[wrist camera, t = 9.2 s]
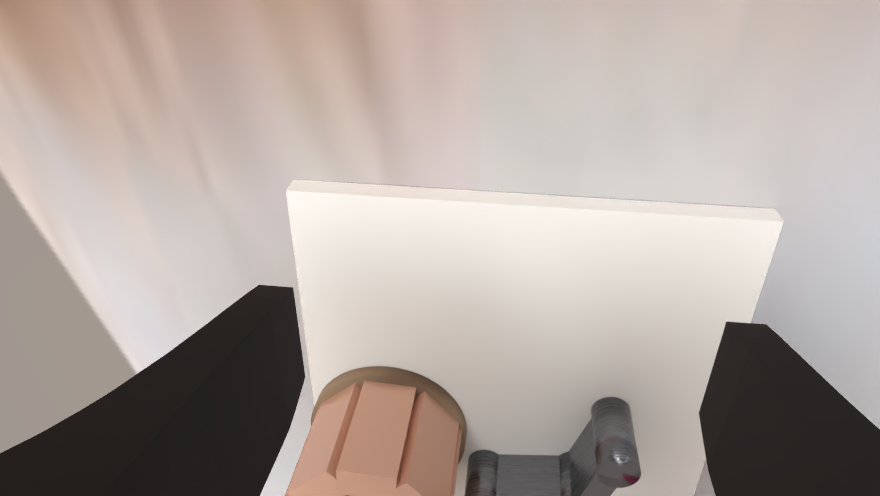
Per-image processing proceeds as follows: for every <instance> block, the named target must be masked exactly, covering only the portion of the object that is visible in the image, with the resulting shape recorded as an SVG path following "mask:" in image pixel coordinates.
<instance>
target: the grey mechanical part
mask: <svg viewBox="0 0 880 496" xmlns="http://www.w3.org/2000/svg"><path fill="white" fill-rule="evenodd" d="M640 477H641V469H640V463H639V457H638V451H637V446H636V440H635V434H634V428H633V422H632V416H631V410H630V407H629V405H628V403H627V402H625V401H624V400H622V399H620V398H617V397H605V398H602V399H599V400H598V401H596V402H595V403H594V404H593V405H592V407H591V420H590V421H589V422H588V424H587V425H586V427H585V428H584V430H583V431H582V433H581V434H580V436H579V437H578V439H577V440H576V441H575V443H574V444H573V446H572V447H571V449H570V450H569V452H565V453H562V454H561V455H559V456H557V455H509V454H497V453H496V452H494V451H491V450H477V451H475V452H473V453H472V454H471V455H470V456H469V458H468V466H467V475H466V485H465V494H464V496H611V495H612V493H613V492H614V491H615V489H616V488H624V487H628V486H631V485H633V484H635V483H636V482H637V481H638V480H639V479H640Z"/></svg>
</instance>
